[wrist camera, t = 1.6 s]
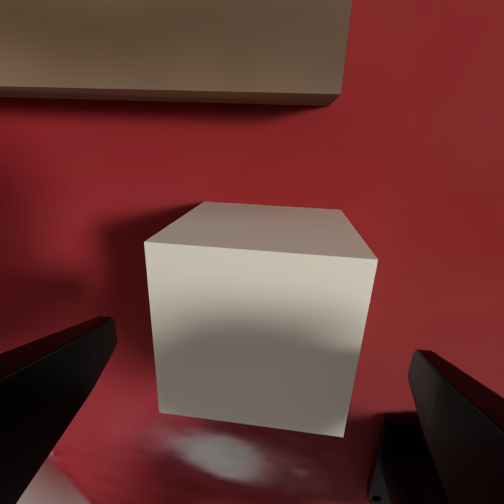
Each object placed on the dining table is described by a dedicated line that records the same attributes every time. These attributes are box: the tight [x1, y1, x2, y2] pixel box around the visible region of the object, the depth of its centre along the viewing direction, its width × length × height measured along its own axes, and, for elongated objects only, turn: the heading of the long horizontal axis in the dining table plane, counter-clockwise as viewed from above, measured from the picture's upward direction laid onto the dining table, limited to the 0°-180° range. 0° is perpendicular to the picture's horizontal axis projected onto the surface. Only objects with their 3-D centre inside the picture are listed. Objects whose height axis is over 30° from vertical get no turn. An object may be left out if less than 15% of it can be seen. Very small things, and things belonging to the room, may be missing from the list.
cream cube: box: [144, 202, 378, 437], centre depth 12 cm, size 6×6×6 cm
